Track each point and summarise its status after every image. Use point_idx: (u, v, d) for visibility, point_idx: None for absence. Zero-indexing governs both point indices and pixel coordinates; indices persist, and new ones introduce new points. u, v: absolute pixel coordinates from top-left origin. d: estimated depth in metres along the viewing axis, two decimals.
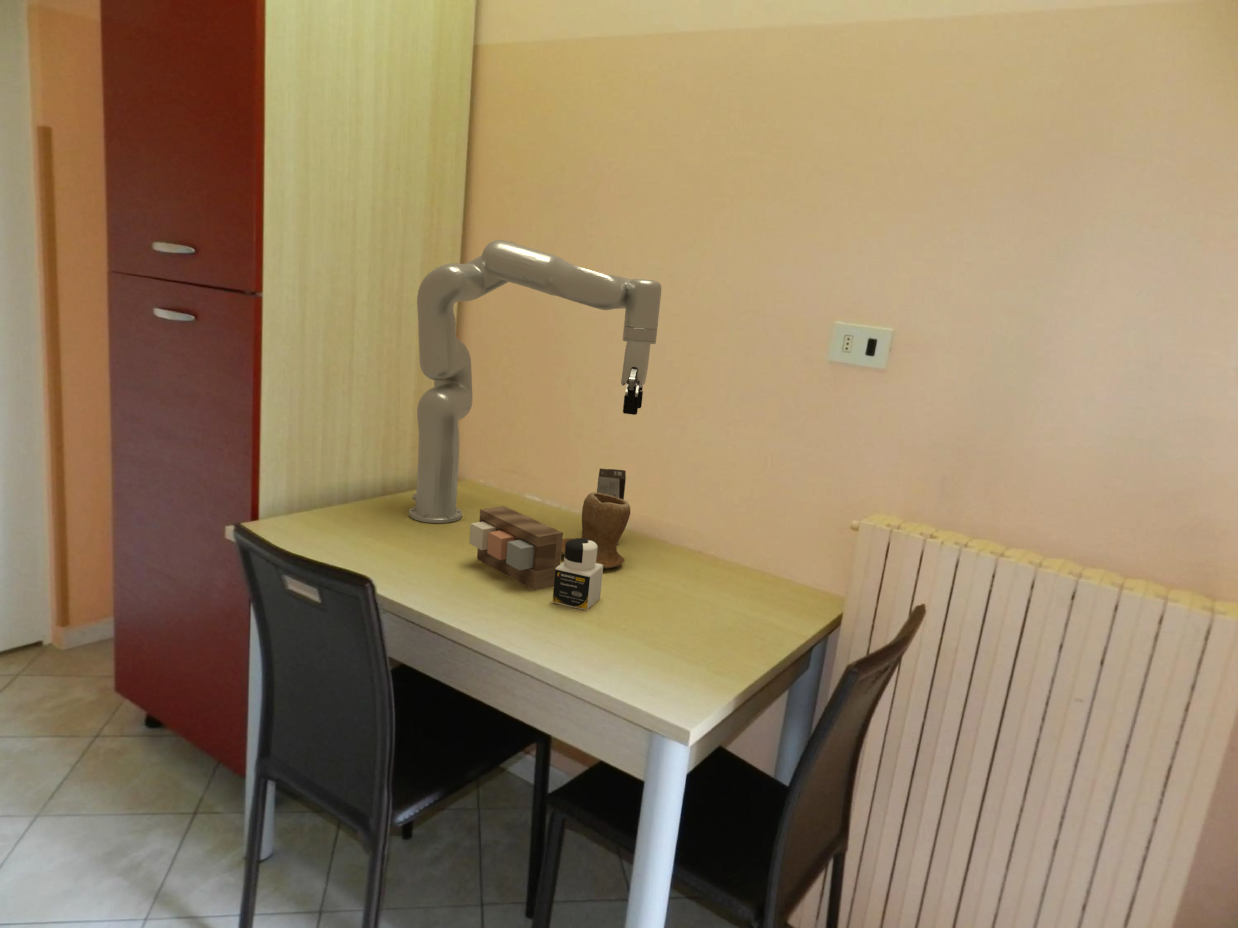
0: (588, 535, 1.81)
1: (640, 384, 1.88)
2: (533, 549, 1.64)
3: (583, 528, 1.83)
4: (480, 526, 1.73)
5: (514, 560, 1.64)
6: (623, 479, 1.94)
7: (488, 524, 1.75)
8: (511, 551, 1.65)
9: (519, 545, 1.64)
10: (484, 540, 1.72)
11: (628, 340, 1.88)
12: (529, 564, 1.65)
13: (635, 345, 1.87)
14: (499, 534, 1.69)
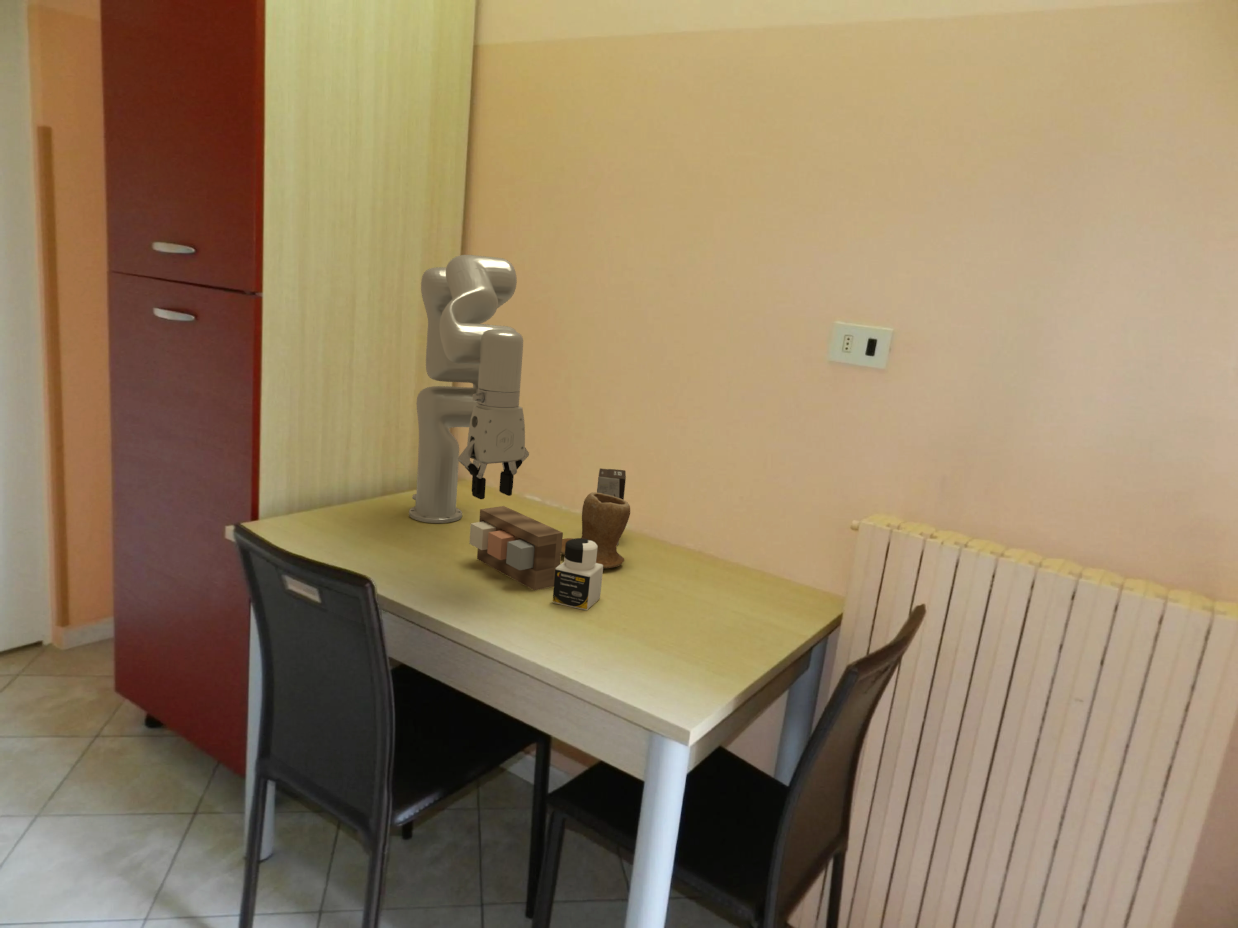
0: (588, 535, 1.81)
1: None
2: (533, 549, 1.64)
3: (583, 528, 1.83)
4: (480, 526, 1.73)
5: (514, 560, 1.64)
6: (623, 479, 1.94)
7: (488, 524, 1.75)
8: (511, 551, 1.65)
9: (519, 545, 1.64)
10: (484, 540, 1.72)
11: (518, 406, 1.54)
12: (529, 564, 1.65)
13: None
14: (499, 534, 1.69)
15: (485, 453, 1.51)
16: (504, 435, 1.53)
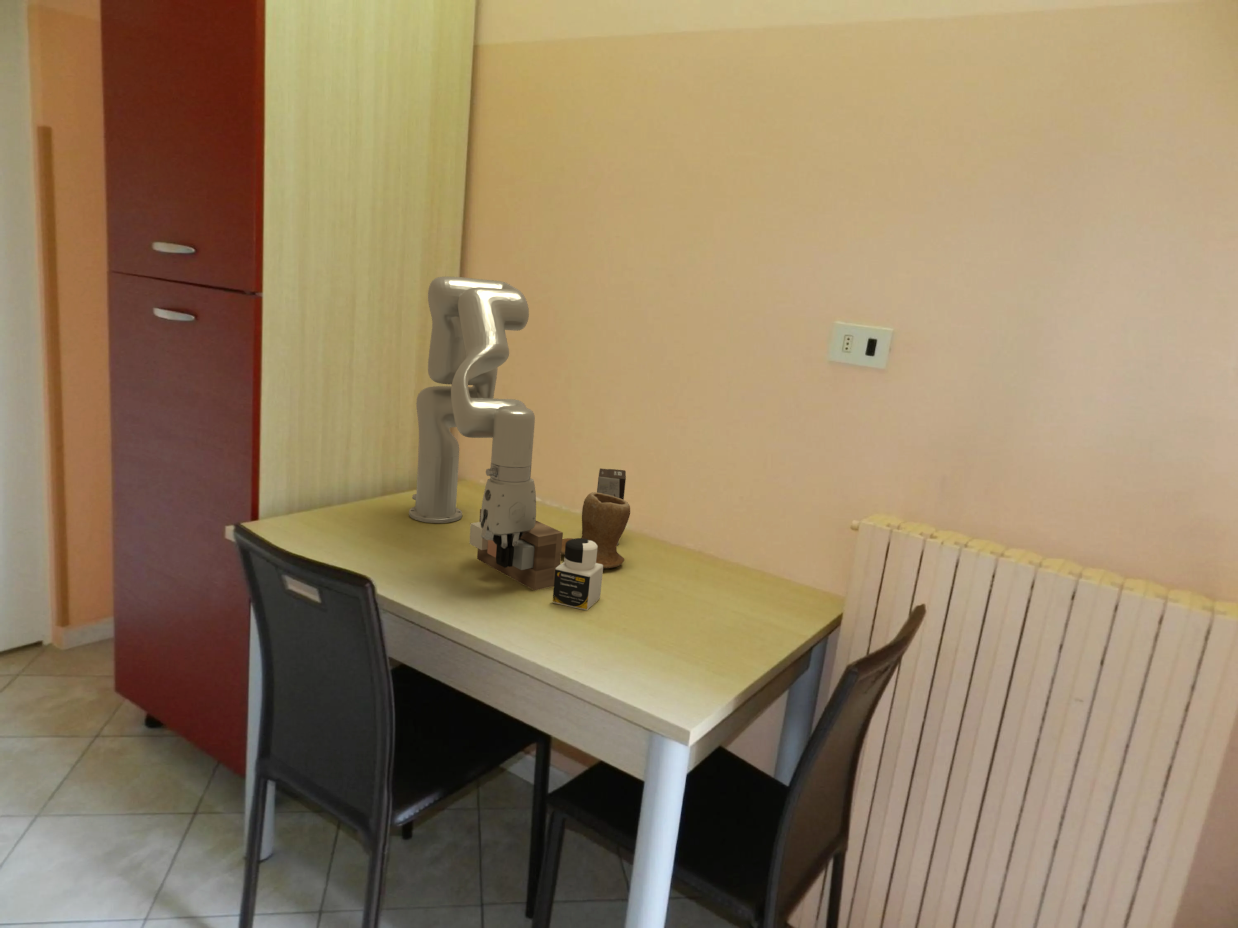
0: (588, 535, 1.81)
1: None
2: None
3: (583, 528, 1.83)
4: (480, 526, 1.73)
5: (515, 559, 1.65)
6: (623, 479, 1.94)
7: None
8: None
9: (520, 545, 1.64)
10: (484, 540, 1.72)
11: (530, 479, 1.60)
12: (531, 564, 1.65)
13: None
14: None
15: (498, 525, 1.57)
16: (516, 508, 1.59)
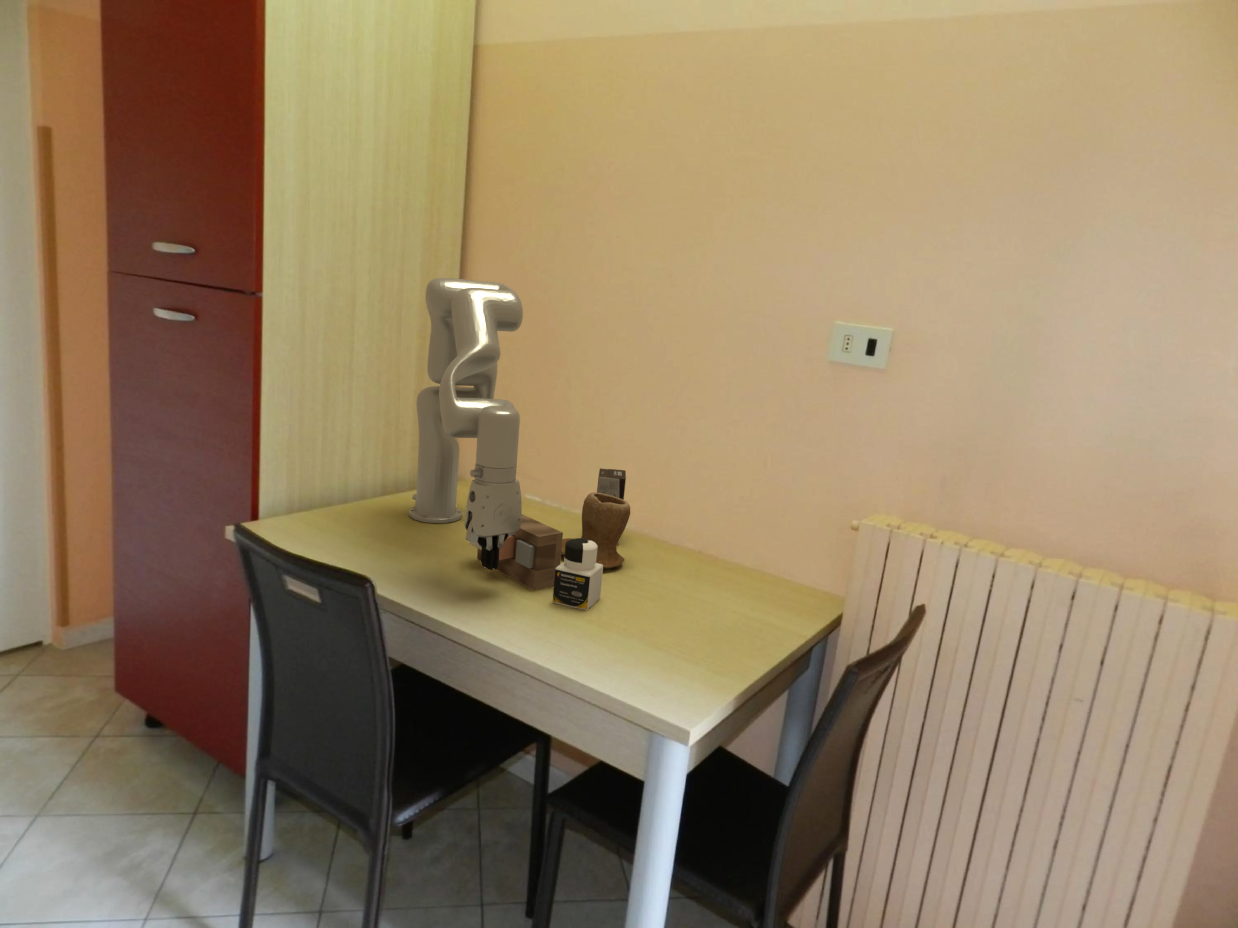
0: (588, 535, 1.81)
1: None
2: None
3: (583, 528, 1.83)
4: None
5: (523, 558, 1.66)
6: (623, 479, 1.94)
7: None
8: (520, 549, 1.66)
9: (528, 543, 1.66)
10: None
11: (515, 480, 1.58)
12: None
13: None
14: None
15: (483, 527, 1.54)
16: (501, 509, 1.56)
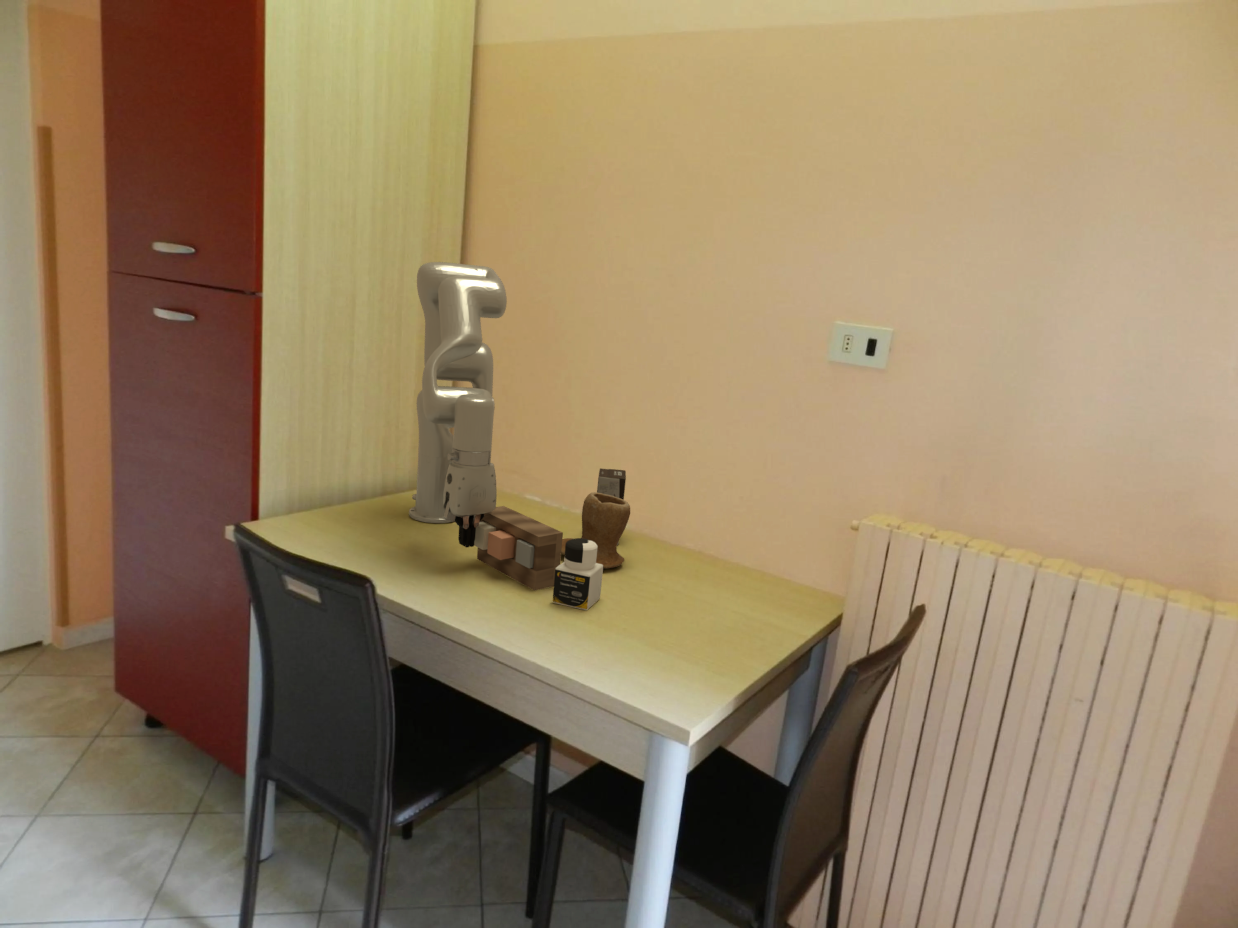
0: (588, 535, 1.81)
1: None
2: None
3: (583, 528, 1.83)
4: (481, 526, 1.73)
5: (523, 558, 1.66)
6: (623, 479, 1.94)
7: (489, 524, 1.75)
8: (520, 549, 1.66)
9: (528, 543, 1.66)
10: (485, 540, 1.72)
11: (490, 463, 1.69)
12: None
13: None
14: (499, 534, 1.69)
15: (459, 507, 1.66)
16: (476, 490, 1.68)
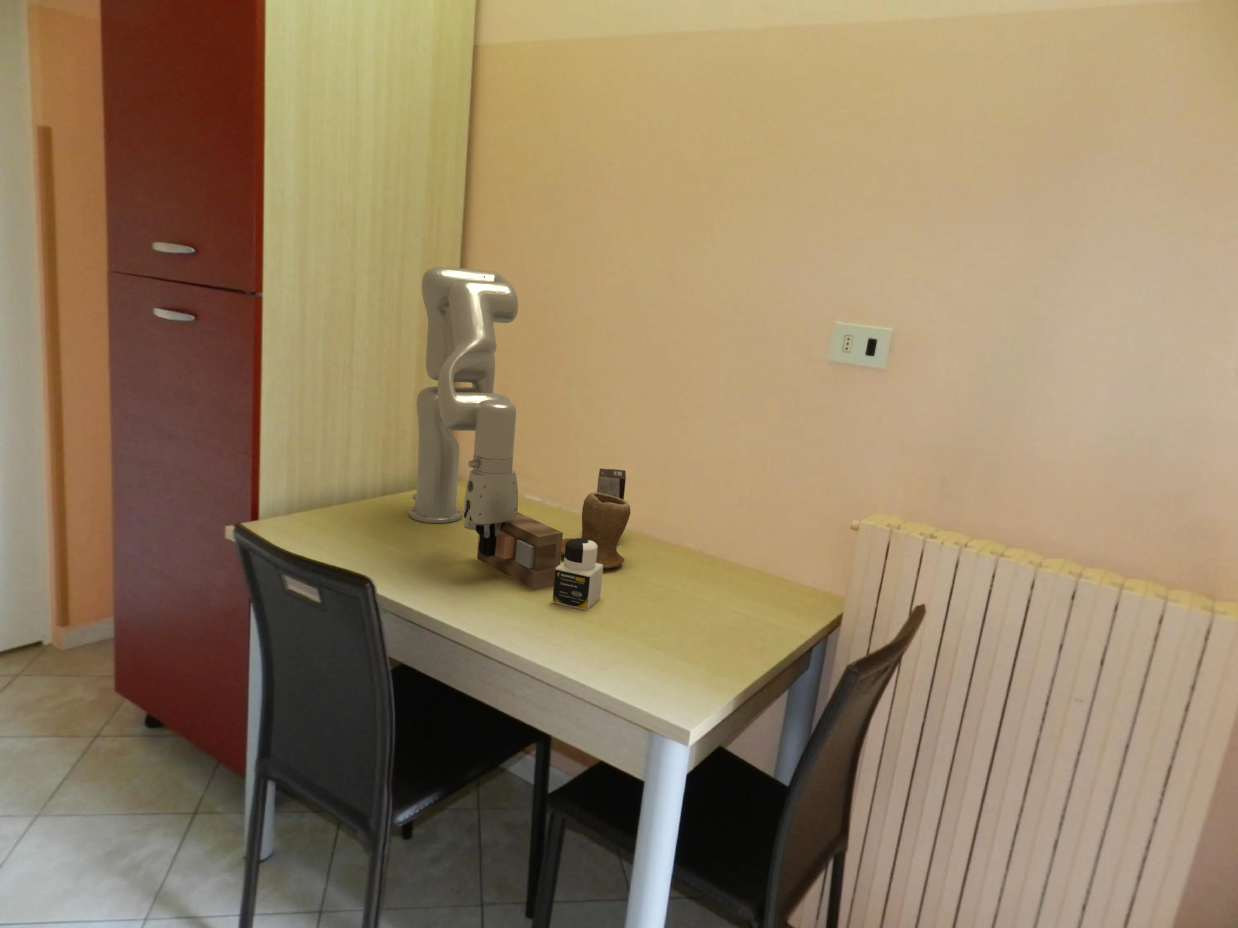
0: (588, 534, 1.81)
1: None
2: None
3: (583, 528, 1.83)
4: None
5: (523, 558, 1.66)
6: (623, 479, 1.94)
7: None
8: (520, 549, 1.66)
9: (528, 543, 1.66)
10: None
11: (511, 471, 1.65)
12: None
13: None
14: (503, 534, 1.70)
15: (480, 516, 1.62)
16: (498, 498, 1.63)
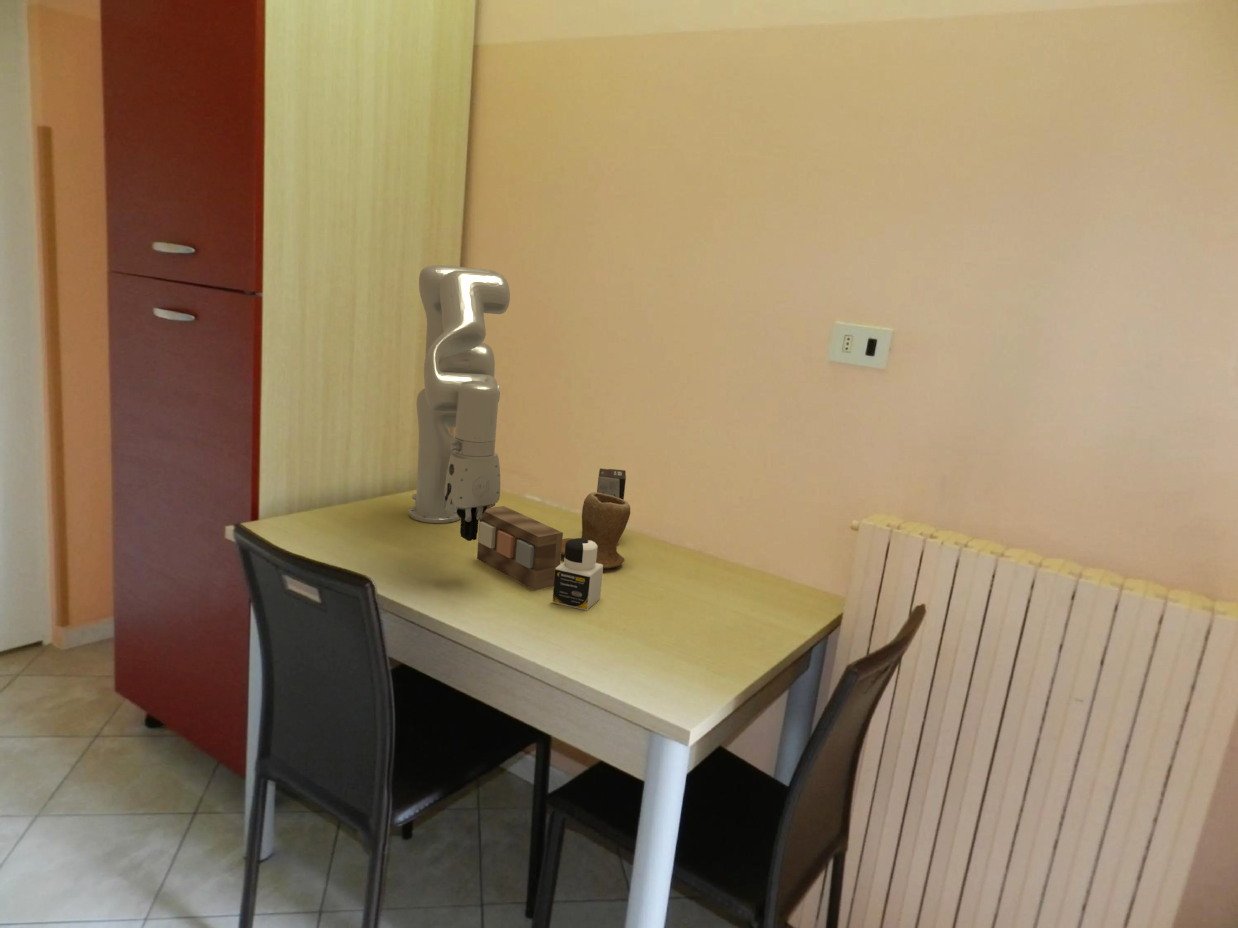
0: (588, 535, 1.81)
1: None
2: None
3: (583, 528, 1.83)
4: (489, 525, 1.75)
5: (523, 558, 1.66)
6: (623, 479, 1.94)
7: None
8: (520, 549, 1.66)
9: (528, 543, 1.66)
10: (493, 539, 1.74)
11: (494, 454, 1.61)
12: None
13: None
14: (509, 533, 1.71)
15: (461, 499, 1.58)
16: (479, 482, 1.60)
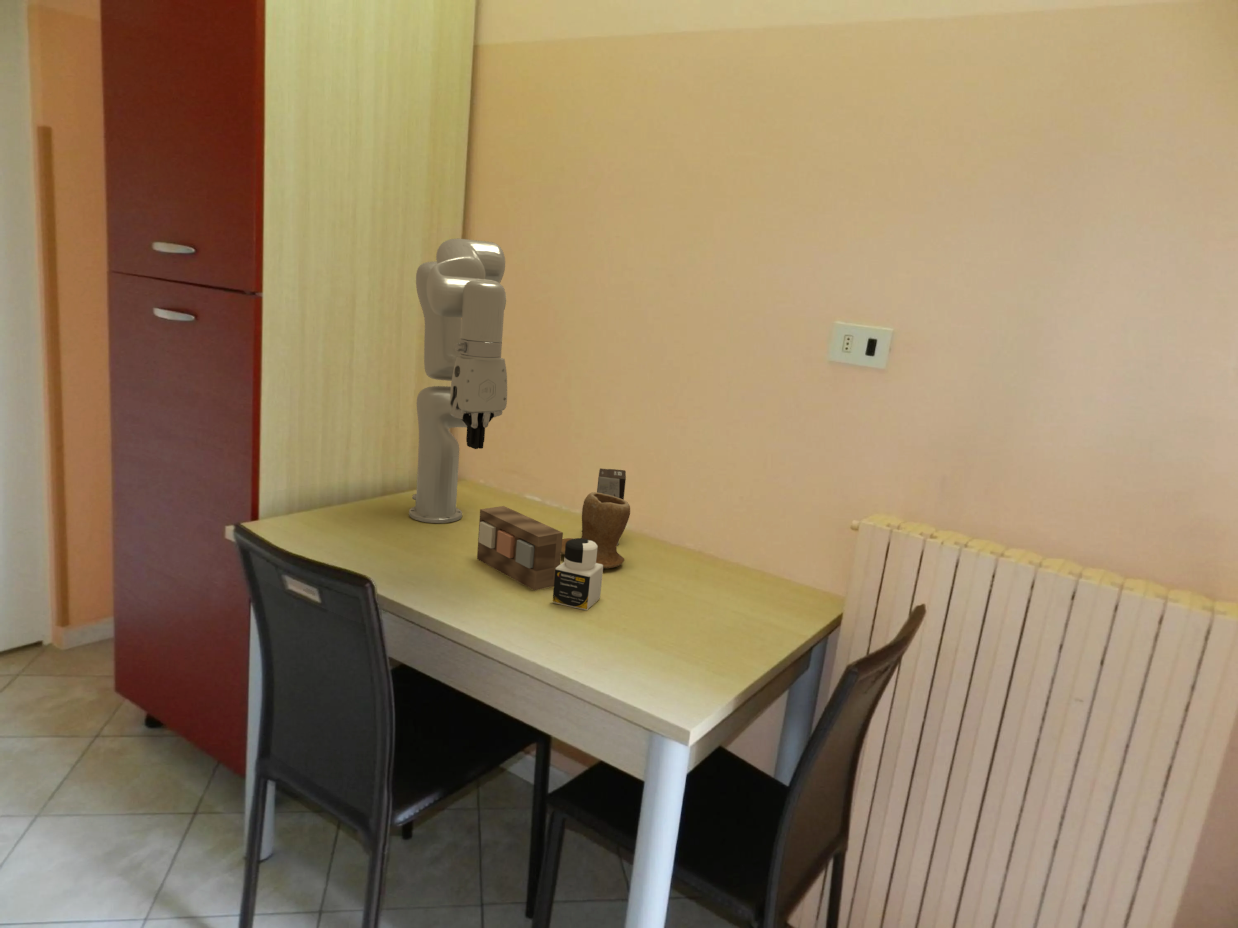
0: (587, 534, 1.81)
1: None
2: None
3: (583, 528, 1.83)
4: (489, 525, 1.75)
5: (523, 558, 1.66)
6: (623, 479, 1.94)
7: None
8: (520, 549, 1.66)
9: (528, 543, 1.66)
10: (493, 539, 1.74)
11: (500, 357, 1.57)
12: None
13: None
14: (509, 533, 1.71)
15: (467, 402, 1.54)
16: (486, 385, 1.56)
